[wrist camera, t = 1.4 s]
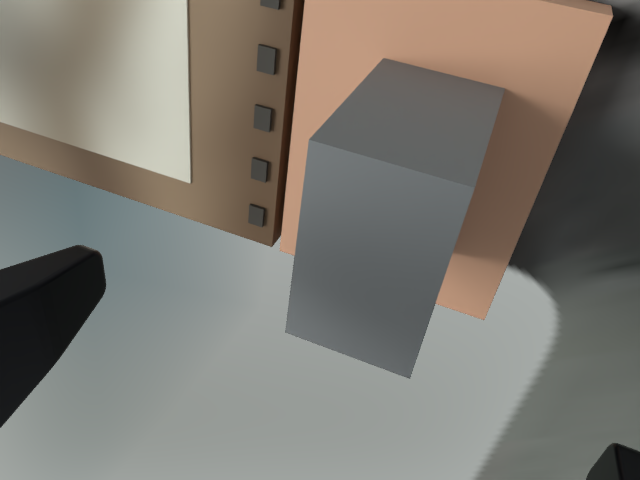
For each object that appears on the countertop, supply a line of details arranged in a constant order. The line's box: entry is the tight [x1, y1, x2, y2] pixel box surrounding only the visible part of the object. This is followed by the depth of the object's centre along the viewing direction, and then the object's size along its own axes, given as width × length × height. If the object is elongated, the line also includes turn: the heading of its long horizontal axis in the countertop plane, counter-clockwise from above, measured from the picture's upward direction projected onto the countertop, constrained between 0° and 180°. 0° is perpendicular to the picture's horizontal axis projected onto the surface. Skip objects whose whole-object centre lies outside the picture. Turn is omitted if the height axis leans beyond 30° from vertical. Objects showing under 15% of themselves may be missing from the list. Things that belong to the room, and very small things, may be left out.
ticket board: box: [0, 0, 305, 247], centre depth 18 cm, size 12×9×1 cm
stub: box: [280, 0, 613, 378], centre depth 14 cm, size 7×9×6 cm
